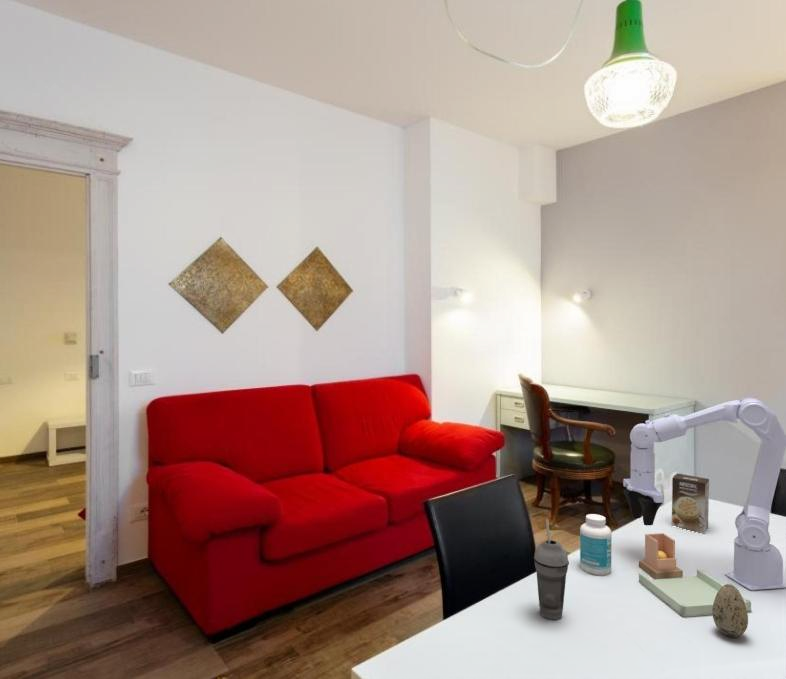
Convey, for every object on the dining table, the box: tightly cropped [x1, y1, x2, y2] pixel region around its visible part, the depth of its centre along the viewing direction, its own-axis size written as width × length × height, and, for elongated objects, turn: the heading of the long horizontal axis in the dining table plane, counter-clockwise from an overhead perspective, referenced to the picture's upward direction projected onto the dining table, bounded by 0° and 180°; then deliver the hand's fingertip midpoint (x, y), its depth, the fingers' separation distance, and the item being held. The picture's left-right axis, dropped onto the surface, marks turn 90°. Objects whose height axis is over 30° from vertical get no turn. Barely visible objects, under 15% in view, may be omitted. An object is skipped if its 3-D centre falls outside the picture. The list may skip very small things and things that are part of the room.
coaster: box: [638, 559, 684, 580], centre depth 129 cm, size 7×7×2 cm
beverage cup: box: [533, 518, 570, 620], centre depth 111 cm, size 7×7×20 cm
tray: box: [638, 568, 752, 618], centre depth 118 cm, size 16×16×2 cm
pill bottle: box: [579, 513, 612, 576], centre depth 131 cm, size 8×7×14 cm
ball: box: [658, 551, 667, 559], centre depth 129 cm, size 3×3×3 cm
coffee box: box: [671, 472, 710, 535], centre depth 157 cm, size 9×6×16 cm
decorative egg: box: [712, 583, 749, 638], centre depth 103 cm, size 6×6×10 cm
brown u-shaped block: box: [644, 533, 677, 571], centre depth 129 cm, size 5×5×7 cm
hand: (642, 521), depth 136 cm, fingers open, 5 cm apart
